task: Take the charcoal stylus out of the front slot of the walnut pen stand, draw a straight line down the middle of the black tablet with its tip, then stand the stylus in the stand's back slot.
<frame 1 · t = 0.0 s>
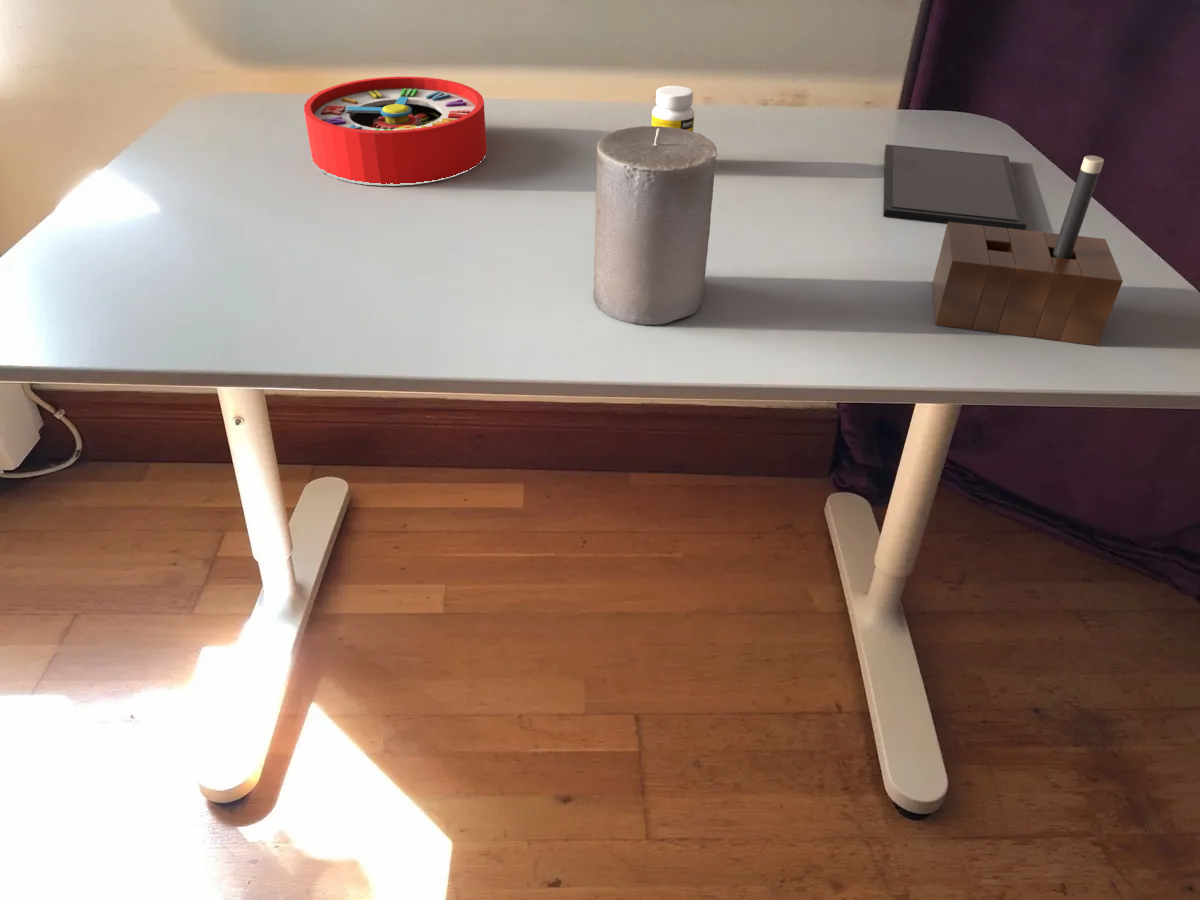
tablet: (948, 188, 105), on the table
pen stand: (1010, 312, 83), on the table
stylus: (1041, 316, 83), resting in pen stand
supplement bottle: (669, 167, 110), on the table
toy clock: (400, 155, 111), on the table
pillar candle: (648, 301, 84), on the table
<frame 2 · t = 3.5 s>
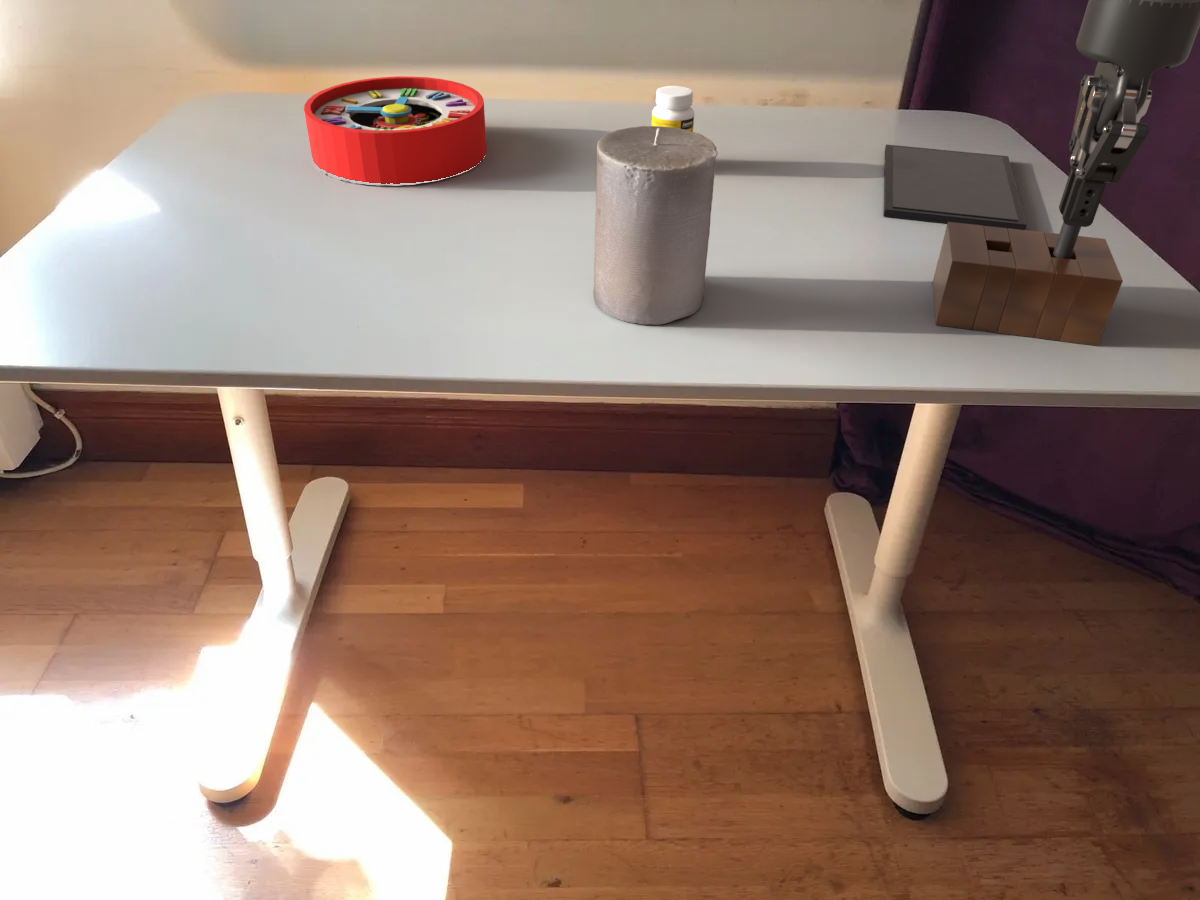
hand: (1074, 218, 77), 9 cm above the table, tool pointing down, fingers closed on stylus, 1 cm apart
stylus: (1041, 316, 83), resting in pen stand, touching gripper
everything else where it was.
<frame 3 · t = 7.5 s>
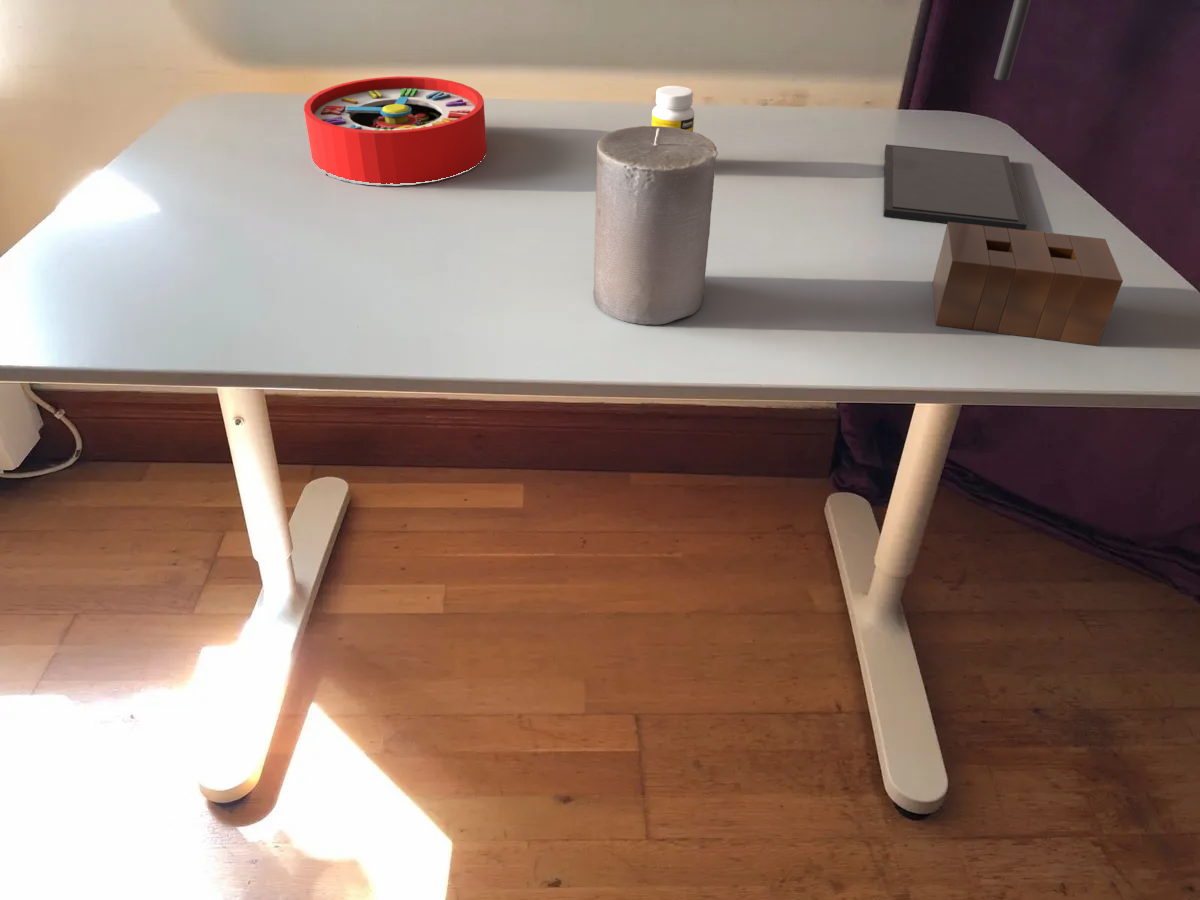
stylus: (1001, 78, 93), point 13 cm above the table, touching gripper
everything else where it was.
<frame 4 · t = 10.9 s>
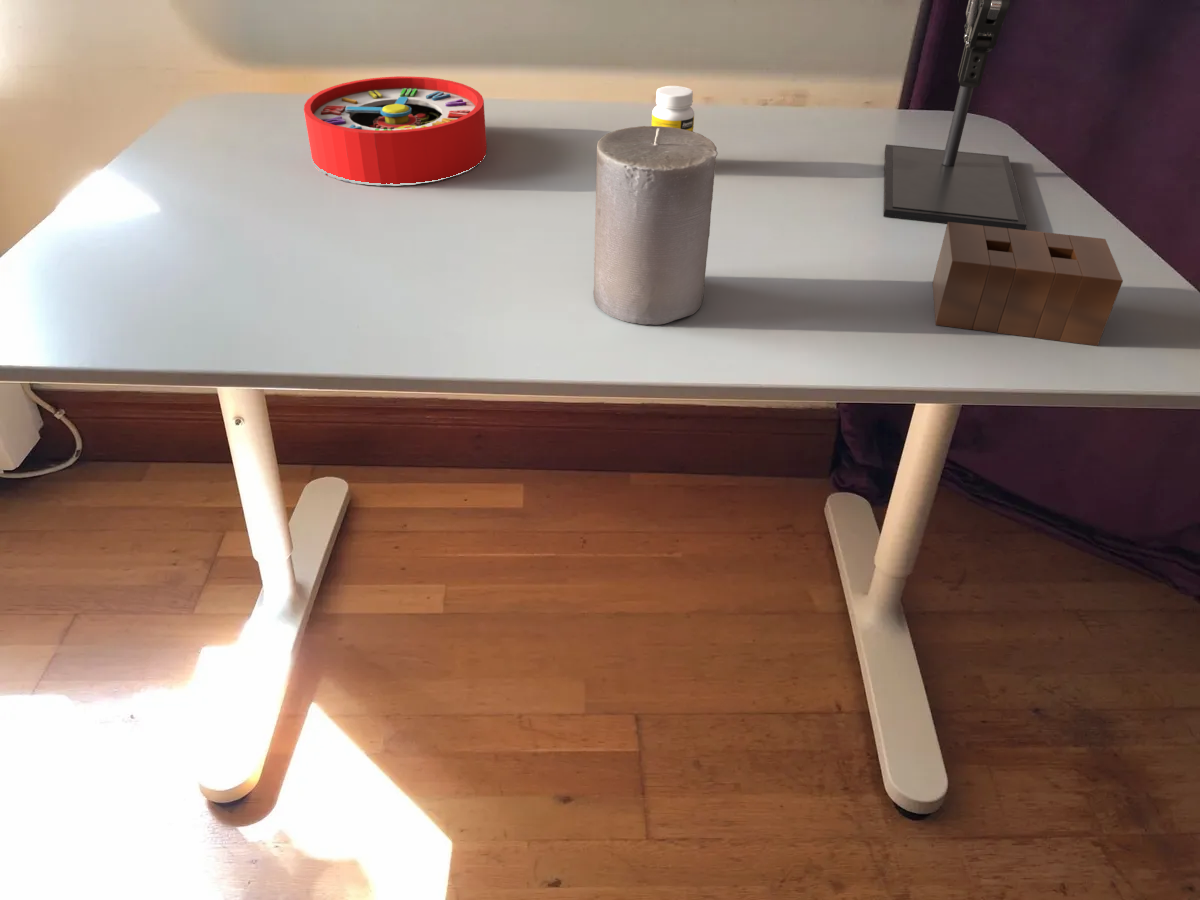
hand: (968, 82, 103), 10 cm above the table, tool pointing down, fingers closed on stylus, 1 cm apart
stylus: (948, 164, 109), point 1 cm above the table, touching gripper, tablet
everything else where it was.
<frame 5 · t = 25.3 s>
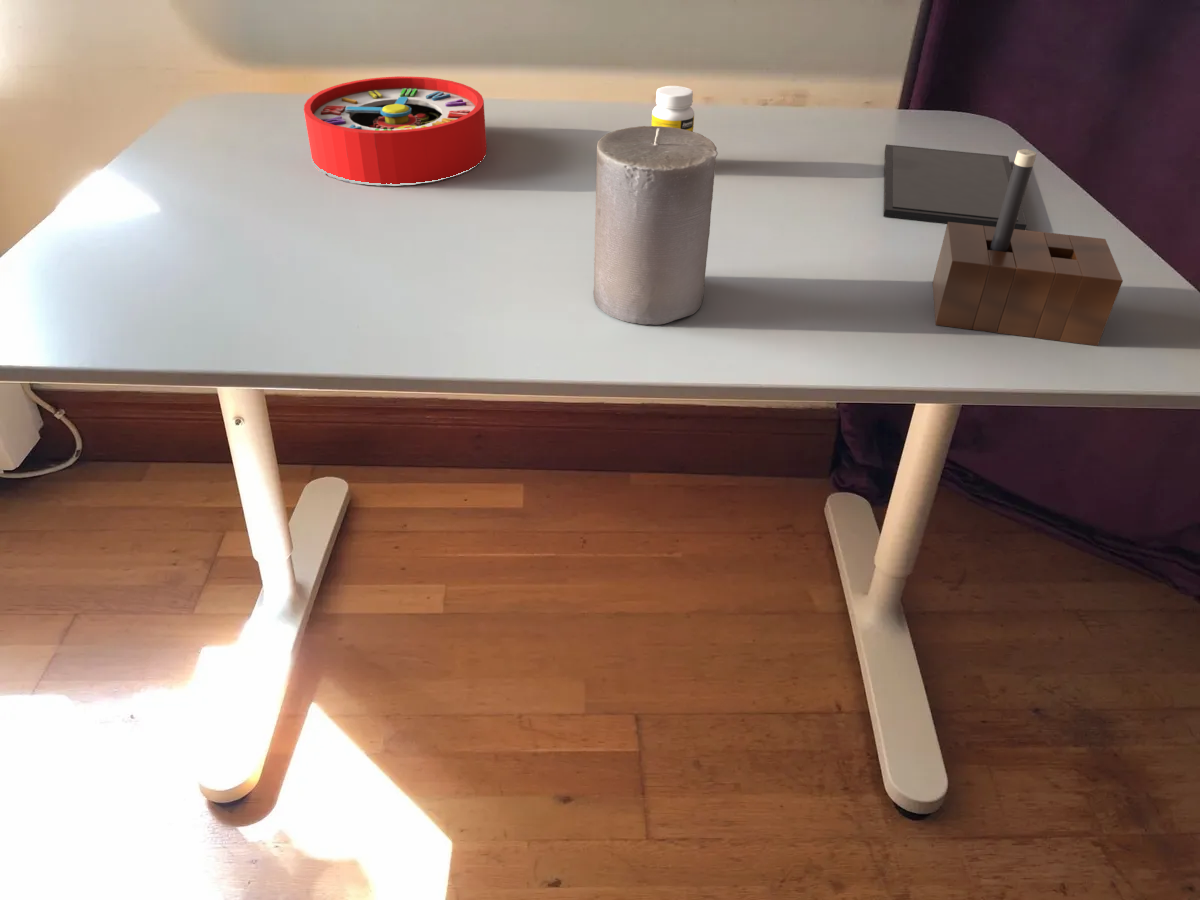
stylus: (981, 309, 84), resting in pen stand
everything else where it was.
at the end: stylus 0.0 cm from the target spot in the pen stand, point 0.0 cm above the pen stand's base; stylus tilted 0°; stylus touching table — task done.
